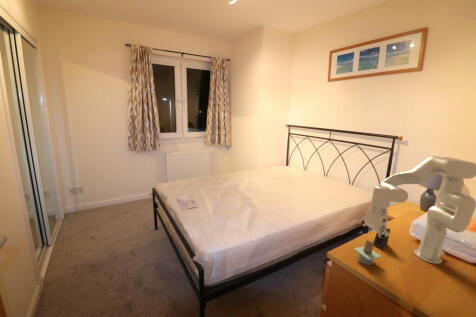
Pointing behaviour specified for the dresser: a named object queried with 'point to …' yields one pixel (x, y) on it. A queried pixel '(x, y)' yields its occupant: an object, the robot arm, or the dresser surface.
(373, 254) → the lid
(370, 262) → the cup
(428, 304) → the dresser surface
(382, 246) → the phone stand
